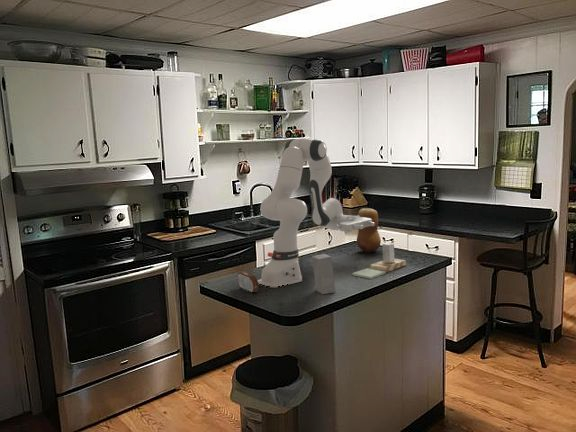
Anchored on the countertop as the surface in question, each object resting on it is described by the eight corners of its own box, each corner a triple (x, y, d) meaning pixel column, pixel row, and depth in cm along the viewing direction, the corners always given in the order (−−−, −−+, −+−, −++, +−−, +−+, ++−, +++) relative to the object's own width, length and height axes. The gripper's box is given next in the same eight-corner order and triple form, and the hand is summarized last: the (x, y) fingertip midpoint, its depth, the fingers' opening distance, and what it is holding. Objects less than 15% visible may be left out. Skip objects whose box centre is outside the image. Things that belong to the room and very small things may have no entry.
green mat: (370, 278, 228) (370, 276, 228) (352, 275, 236) (352, 273, 236) (385, 273, 235) (385, 271, 235) (366, 270, 243) (366, 268, 243)
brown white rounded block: (259, 294, 215) (258, 275, 214) (253, 295, 214) (252, 276, 212) (243, 286, 228) (241, 269, 226) (237, 288, 226) (235, 270, 225)
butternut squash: (385, 250, 282) (384, 207, 278) (373, 255, 272) (371, 210, 268) (364, 248, 291) (363, 206, 287) (352, 253, 281) (350, 209, 277)
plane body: (385, 272, 237) (385, 267, 236) (370, 269, 243) (370, 264, 243) (405, 265, 248) (405, 260, 248) (390, 262, 255) (390, 257, 254)
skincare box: (335, 292, 210) (334, 256, 208) (320, 295, 208) (318, 258, 206) (328, 287, 218) (326, 252, 216) (313, 289, 217) (311, 254, 214)
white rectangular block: (389, 268, 243) (389, 244, 241) (383, 267, 246) (382, 244, 244) (394, 267, 246) (393, 243, 244) (387, 265, 249) (387, 242, 247)
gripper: (334, 220, 255) (354, 222, 245) (359, 214, 268) (380, 216, 258) (334, 232, 256) (355, 235, 245) (359, 226, 269) (380, 228, 259)
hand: (368, 225), depth 252 cm, fingers open, 8 cm apart
